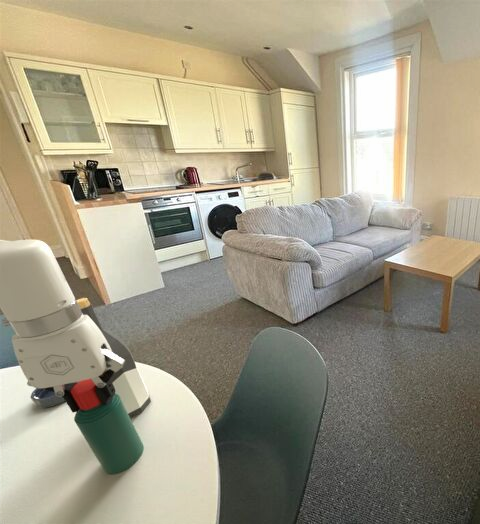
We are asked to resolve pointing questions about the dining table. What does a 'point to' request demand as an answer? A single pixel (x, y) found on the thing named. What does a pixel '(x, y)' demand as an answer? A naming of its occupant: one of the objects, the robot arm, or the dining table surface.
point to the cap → (85, 394)
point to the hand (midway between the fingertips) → (94, 401)
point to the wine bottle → (128, 376)
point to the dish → (46, 398)
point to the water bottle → (110, 435)
